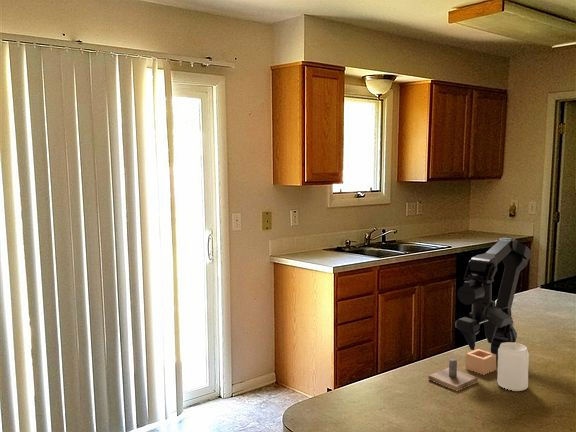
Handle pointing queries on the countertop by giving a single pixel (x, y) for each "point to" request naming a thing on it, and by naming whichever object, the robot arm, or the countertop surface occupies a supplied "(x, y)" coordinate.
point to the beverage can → (513, 366)
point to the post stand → (453, 377)
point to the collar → (481, 361)
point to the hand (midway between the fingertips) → (481, 346)
